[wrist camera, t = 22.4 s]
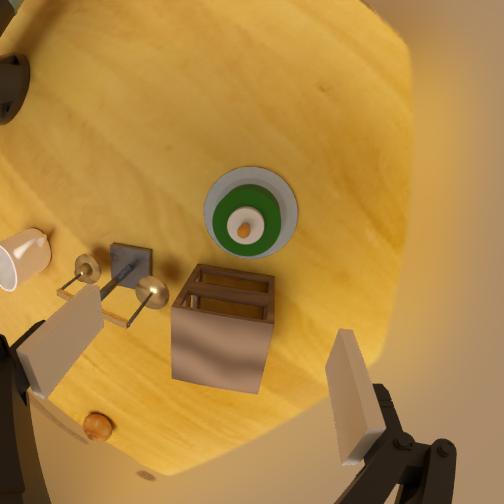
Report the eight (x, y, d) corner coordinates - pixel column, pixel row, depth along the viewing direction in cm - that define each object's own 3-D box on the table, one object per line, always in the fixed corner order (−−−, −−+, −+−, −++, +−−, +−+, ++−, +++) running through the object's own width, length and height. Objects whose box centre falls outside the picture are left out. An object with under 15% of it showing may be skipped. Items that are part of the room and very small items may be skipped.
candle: (291, 204, 40) (297, 222, 30) (260, 253, 43) (256, 284, 33) (239, 172, 39) (227, 180, 30) (209, 223, 42) (190, 246, 32)
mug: (68, 248, 46) (31, 271, 36) (38, 275, 49) (5, 298, 39) (46, 209, 44) (6, 225, 34) (18, 240, 47) (-17, 258, 37)
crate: (197, 263, 45) (171, 306, 33) (274, 276, 45) (274, 324, 33) (193, 327, 49) (171, 378, 37) (261, 338, 49) (257, 394, 37)
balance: (87, 238, 45) (29, 274, 31) (184, 254, 45) (145, 305, 30) (90, 275, 48) (38, 318, 33) (181, 295, 47) (147, 354, 33)
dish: (211, 160, 40) (209, 161, 39) (304, 174, 40) (305, 175, 38) (201, 248, 44) (199, 251, 43) (288, 262, 44) (288, 265, 43)
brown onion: (92, 409, 58) (79, 433, 53) (119, 426, 61) (106, 449, 55) (89, 406, 64) (78, 428, 59) (114, 422, 67) (103, 443, 61)
